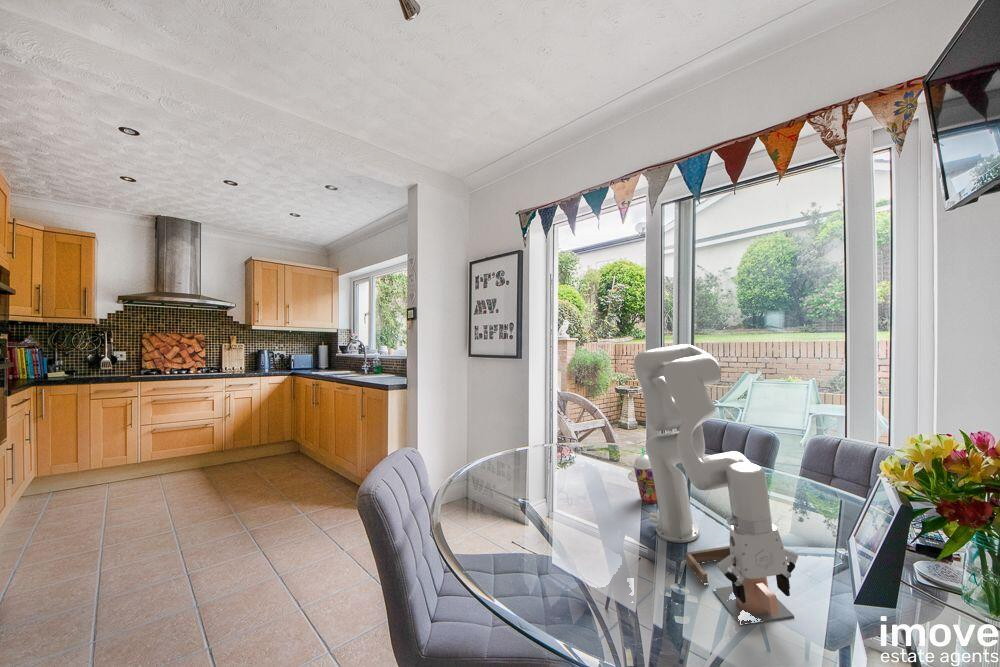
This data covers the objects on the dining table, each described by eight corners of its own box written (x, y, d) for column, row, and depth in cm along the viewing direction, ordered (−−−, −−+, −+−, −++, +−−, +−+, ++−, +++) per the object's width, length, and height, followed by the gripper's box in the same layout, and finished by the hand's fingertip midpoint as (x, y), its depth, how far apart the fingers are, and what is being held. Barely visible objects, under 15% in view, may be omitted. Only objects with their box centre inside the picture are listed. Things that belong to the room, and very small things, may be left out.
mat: (712, 590, 103) (712, 589, 103) (760, 583, 103) (759, 581, 103) (740, 625, 92) (740, 624, 91) (794, 617, 91) (794, 615, 91)
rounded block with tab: (730, 596, 100) (725, 564, 100) (758, 592, 100) (754, 560, 100) (761, 634, 88) (755, 597, 88) (794, 629, 88) (788, 592, 88)
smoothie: (650, 507, 150) (641, 453, 149) (634, 499, 157) (626, 448, 157) (667, 500, 153) (659, 447, 152) (650, 493, 161) (643, 442, 160)
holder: (687, 563, 116) (685, 552, 115) (736, 555, 115) (735, 544, 115) (704, 586, 106) (702, 574, 105) (759, 577, 105) (757, 565, 105)
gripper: (722, 536, 87) (733, 613, 88) (803, 523, 87) (813, 601, 88) (704, 518, 95) (714, 590, 96) (779, 506, 95) (788, 578, 96)
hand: (762, 595), depth 92 cm, fingers open, 9 cm apart
